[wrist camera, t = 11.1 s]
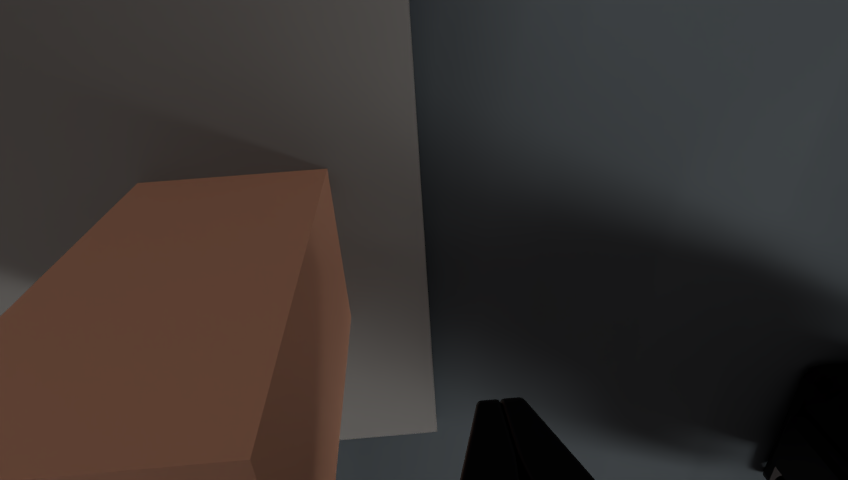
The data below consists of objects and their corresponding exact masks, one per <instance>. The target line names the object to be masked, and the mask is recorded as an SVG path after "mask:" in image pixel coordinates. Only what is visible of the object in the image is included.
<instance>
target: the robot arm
mask: <svg viewBox="0 0 848 480" xmlns="http://www.w3.org/2000/svg"><path fill="white" fill-rule="evenodd" d="M763 475H764V477H765V478H766V480H848V363H847V364H836V365H824V366H817V367H814V368H812V369H810V370H808V371H807V372H806V373H805V374H804V376H803V378H802V380H801V382H800V385H799V387H798V390H797V392H796V394H795V397H794V399H793V402H792V404H791V407H790V409H789V411H788V414H787V416H786V419H785V421H784V423H783V426H782V428H781V431H780V433H779V436H778V438H777V440H776V443H775V445H774V448H773V450H772V452H771V455H770V457H769V460H768V462H767V465H766V467H765V469H764V472H763ZM460 480H595V479H594V478H593V477H592V476H591V475H590V474H589V473H588V471H587V470H586V469H585V468H584V467H583V466H582V465H581V463H580V462H579V461H578V460H577V459H576V458H575V457H574V455H573V454H572V453H571V452H570V451H569V450H568V449H567V447H566V446H565V445H564V444H563V443H562V442H561V441H560V439H559V438H558V437H557V436H556V435H555V434H554V433H553V432H552V430H551V429H550V428H549V427H548V426H547V425H546V424H545V422H544V421H543V420H542V419H541V418H540V417H539V416H538V414H537V413H536V412H535V411H534V410H533V409H532V408H531V406H530V405H529V404H528V403H527V402H526V401H525V400H524V399H523V398H520V397H517V398H506V399H502V400H501V401H500V402H499V400H496V399H494V400H483V401H479V402H478V403H477V405H476V410H475V414H474V419H473V423H472V428H471V432H470V437H469V441H468V446H467V451H466V455H465V460H464V464H463V469H462V473H461V478H460Z"/></svg>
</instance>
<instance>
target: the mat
mask: <svg viewBox="0 0 848 480" xmlns="http://www.w3.org/2000/svg"><path fill="white" fill-rule="evenodd" d="M315 169H327V170H328V176H329V182H330V188H331V195H332V201H333V207H334V213H335V220H336V226H337V232H338V238H339V244H340V251H341V257H342V263H343V269H344V276H345V282H346V288H347V294H348V300H349V307H350V313H351V325H350V335H349V345H348V355H347V366H346V376H345V386H344V396H343V407H342V417H341V427H340V437H339V440H346V439H358V438H369V437H381V436H392V435H403V434H415V433H426V432H437V424H436V408H435V393H434V378H433V362H432V347H431V332H430V316H429V301H428V286H427V270H426V255H425V239H424V224H423V209H422V193H421V178H420V163H419V147H418V132H417V117H416V101H415V86H414V71H413V55H412V40H411V25H410V9H409V0H0V316H1V315H2V314H3V313H4V312H5V311H6V310H7V309H8V308H10V307H11V306H12V305H13V304H14V303H15V302H16V301H17V300H18V299H19V298H20V297H21V296H22V295H23V294H24V293H25V292H26V291H27V290H28V289H29V288H30V287H31V286H32V285H33V284H34V283H35V282H36V281H37V280H38V279H39V278H40V277H41V276H42V275H43V274H44V273H45V272H47V271H48V270H49V269H50V268H51V267H52V266H53V265H54V264H55V263H56V262H57V261H58V260H59V259H60V258H61V257H62V256H63V255H64V254H65V253H66V252H67V251H68V250H69V249H70V248H71V247H72V246H73V245H74V244H75V243H76V242H77V241H78V240H79V239H80V238H81V237H82V236H84V235H85V234H86V233H87V232H88V231H89V230H90V229H91V228H92V227H93V226H94V225H95V224H96V223H97V222H98V221H99V220H100V219H101V218H102V217H103V216H104V215H105V214H106V213H107V212H108V211H109V210H110V209H111V208H112V207H113V206H114V205H115V204H116V203H117V202H118V201H120V200H121V199H122V198H123V197H124V196H125V195H126V194H127V193H128V192H129V191H130V190H131V189H132V188H133V187H134V186H135V185H136V184H137V183H145V182H158V181H171V180H184V179H197V178H210V177H224V176H237V175H250V174H263V173H276V172H289V171H302V170H315Z"/></svg>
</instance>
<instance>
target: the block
mask: <svg viewBox="0 0 848 480" xmlns="http://www.w3.org/2000/svg"><path fill="white" fill-rule="evenodd" d="M350 325H351V313H350V307H349V300H348V294H347V288H346V282H345V276H344V269H343V263H342V257H341V251H340V244H339V238H338V232H337V226H336V220H335V213H334V207H333V201H332V195H331V188H330V182H329V176H328V170H327V169H315V170H302V171H289V172H276V173H263V174H250V175H237V176H224V177H210V178H197V179H184V180H171V181H158V182H145V183H137V184H136V185H135V186H134V187H133V188H132V189H131V190H130V191H129V192H128V193H127V194H126V195H125V196H124V197H123V198H122V199H121V200H120V201H118V202H117V203H116V204H115V205H114V206H113V207H112V208H111V209H110V210H109V211H108V212H107V213H106V214H105V215H104V216H103V217H102V218H101V219H100V220H99V221H98V222H97V223H96V224H95V225H94V226H93V227H92V228H91V229H90V230H89V231H88V232H87V233H86V234H85V235H84V236H82V237H81V238H80V239H79V240H78V241H77V242H76V243H75V244H74V245H73V246H72V247H71V248H70V249H69V250H68V251H67V252H66V253H65V254H64V255H63V256H62V257H61V258H60V259H59V260H58V261H57V262H56V263H55V264H54V265H53V266H52V267H51V268H50V269H49V270H48V271H47V272H45V273H44V274H43V275H42V276H41V277H40V278H39V279H38V280H37V281H36V282H35V283H34V284H33V285H32V286H31V287H30V288H29V289H28V290H27V291H26V292H25V293H24V294H23V295H22V296H21V297H20V298H19V299H18V300H17V301H16V302H15V303H14V304H13V305H12V306H11V307H10V308H8V309H7V310H6V311H5V312H4V313H3V314H2V315H1V316H0V480H335V478H336V468H337V458H338V448H339V437H340V427H341V417H342V407H343V396H344V386H345V376H346V366H347V355H348V345H349V335H350Z"/></svg>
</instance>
